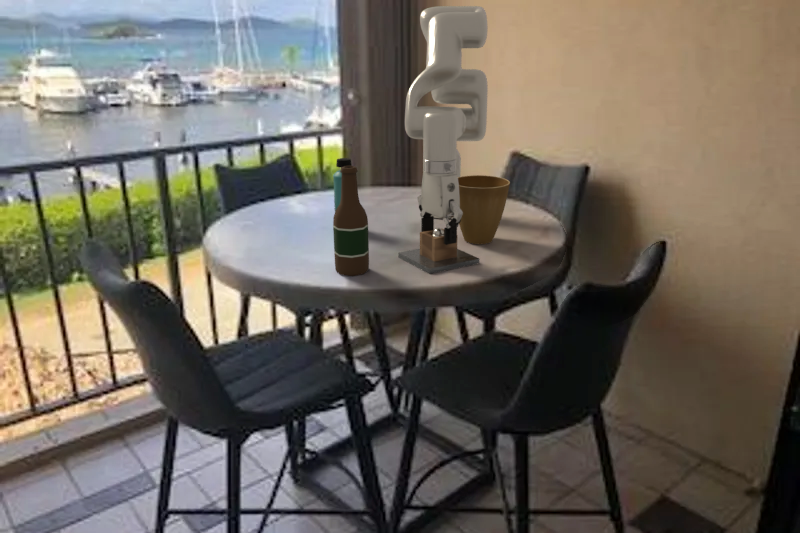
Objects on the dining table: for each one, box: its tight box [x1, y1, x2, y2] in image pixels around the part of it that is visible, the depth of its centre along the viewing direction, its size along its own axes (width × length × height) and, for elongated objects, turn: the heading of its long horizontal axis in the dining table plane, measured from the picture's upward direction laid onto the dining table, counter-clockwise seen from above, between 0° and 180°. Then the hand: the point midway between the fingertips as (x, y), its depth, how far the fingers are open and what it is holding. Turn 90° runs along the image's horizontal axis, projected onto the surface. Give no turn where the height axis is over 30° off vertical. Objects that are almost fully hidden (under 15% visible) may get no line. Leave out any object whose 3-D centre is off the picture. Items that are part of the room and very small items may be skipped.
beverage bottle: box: [332, 157, 353, 212], centre depth 173 cm, size 6×7×20 cm
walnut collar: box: [419, 228, 458, 261], centre depth 149 cm, size 6×6×6 cm
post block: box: [397, 227, 481, 275], centre depth 149 cm, size 14×14×8 cm
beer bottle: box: [332, 165, 370, 277], centre depth 140 cm, size 8×8×24 cm
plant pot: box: [458, 174, 511, 245], centre depth 163 cm, size 15×15×16 cm
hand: (438, 238), depth 149 cm, fingers open, 9 cm apart
